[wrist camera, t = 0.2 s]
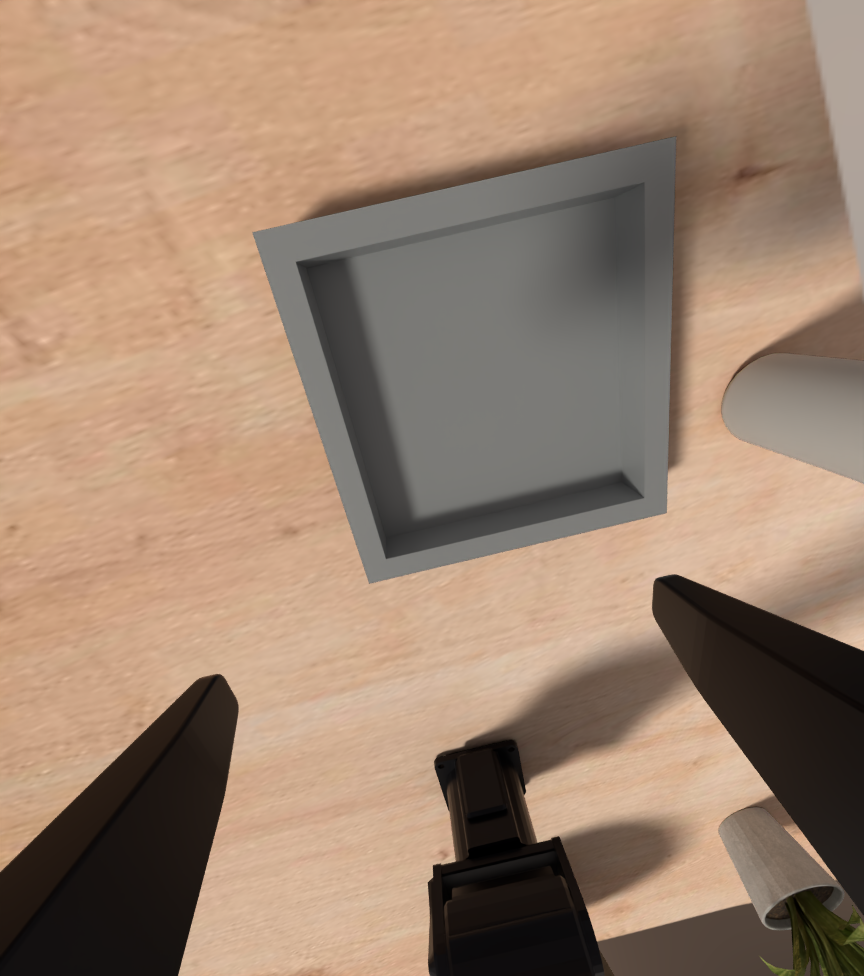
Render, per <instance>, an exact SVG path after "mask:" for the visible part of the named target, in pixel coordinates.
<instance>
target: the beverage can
mask: <svg viewBox="0 0 864 976" xmlns="http://www.w3.org/2000/svg"><path fill="white" fill-rule="evenodd" d="M721 414H722V418H723V421H724V423H725V426H726V427H727V429H728V430H729V431H730V432H731V434H732V435H734V436H735V437H736V438H738V439H739V440H742V441H745V442H748V443H750V444H753V445H756V446H759V447H762V448H765V449H768V450H770V451H773V452H776V453H779V454H782V455H785V456H788V457H790V458H793V459H796V460H799V461H802V462H805V463H807V464H810V465H813V466H816V467H819V468H822V469H824V470H827V471H830V472H833V473H836V474H838V475H841V476H844V477H847V478H849V479H852V480H855V481H858V482H860V483H863V484H864V360H853V359H843V358H832V357H821V356H811V355H800V354H789V353H773V354H770V355H767V356H763V357H760V358H759V359H757V360H755V361H753V362H752V363H750V364H748V365H747V366H746V367H745V368H744V369H742V370H741V371H740V372H739V373H738V374H737V375H736V376H735V377H734V378H733V380H732V381H731V382H730V384H729V385H728V387H727V389H726V391H725V393H724V396H723V400H722V407H721Z"/></svg>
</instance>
